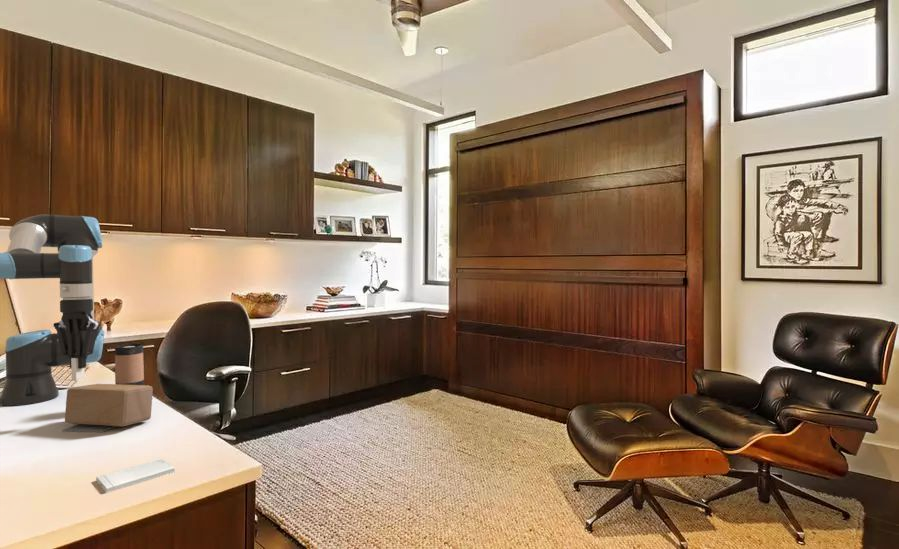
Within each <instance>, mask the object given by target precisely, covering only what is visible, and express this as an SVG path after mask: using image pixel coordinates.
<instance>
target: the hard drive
mask: <svg viewBox="0 0 899 549" xmlns="http://www.w3.org/2000/svg"><path fill="white" fill-rule="evenodd" d="M175 469H176V468H175V467H174V466H173V465H171V463H170V462H168V461H167V460H165V459H164V458H158V459H155V460H153V461H152V460H151V461H149V462H145V463H142V464H139V465H135V466H131V467H128V468H124V469H121V470H116V471H113V472H109V473H106V474H103V475H100V476H96V477H95V482H96V483H97V484H98V485H99V486H100V488H101V489H103V491H104V492H105V494H108V493H112V492H114V491H118V490H122V489H124V488H127V487H132V486H134V485H138V484H141V483H145V482H147V481H148V482H149V481H150V480H151V481H152V480H155V479H157V477H158V478H160V476H161V477H164V476H163V475H165V476H167V475H166V474H168V475H170V473H171V474H174V473H175V472H176V470H175ZM173 472H174V473H173ZM154 478H155V479H154Z"/></svg>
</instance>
